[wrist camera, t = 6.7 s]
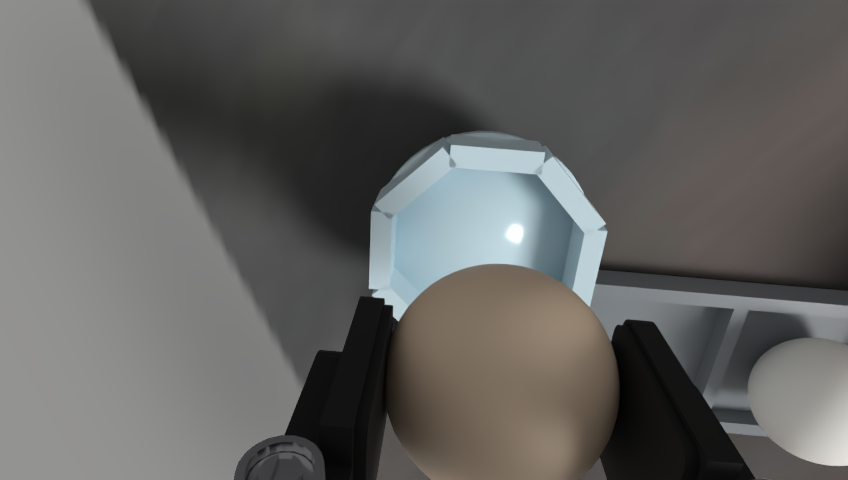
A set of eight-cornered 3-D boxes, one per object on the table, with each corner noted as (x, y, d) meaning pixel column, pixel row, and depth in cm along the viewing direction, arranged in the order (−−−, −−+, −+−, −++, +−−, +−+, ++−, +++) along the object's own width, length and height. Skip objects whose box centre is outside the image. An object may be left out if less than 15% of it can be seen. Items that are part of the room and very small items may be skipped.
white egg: (818, 409, 24) (901, 500, 20) (712, 399, 25) (770, 488, 20) (862, 320, 22) (966, 398, 18) (746, 310, 23) (819, 385, 18)
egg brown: (606, 236, 12) (693, 369, 8) (568, 398, 15) (620, 577, 10) (400, 219, 13) (369, 340, 8) (391, 382, 15) (363, 551, 10)
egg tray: (826, 421, 25) (846, 443, 24) (412, 384, 26) (409, 403, 24) (890, 294, 22) (916, 311, 21) (421, 254, 23) (419, 268, 22)
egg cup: (554, 295, 23) (578, 366, 19) (382, 281, 24) (364, 347, 19) (588, 122, 20) (628, 155, 16) (389, 106, 20) (370, 135, 16)
